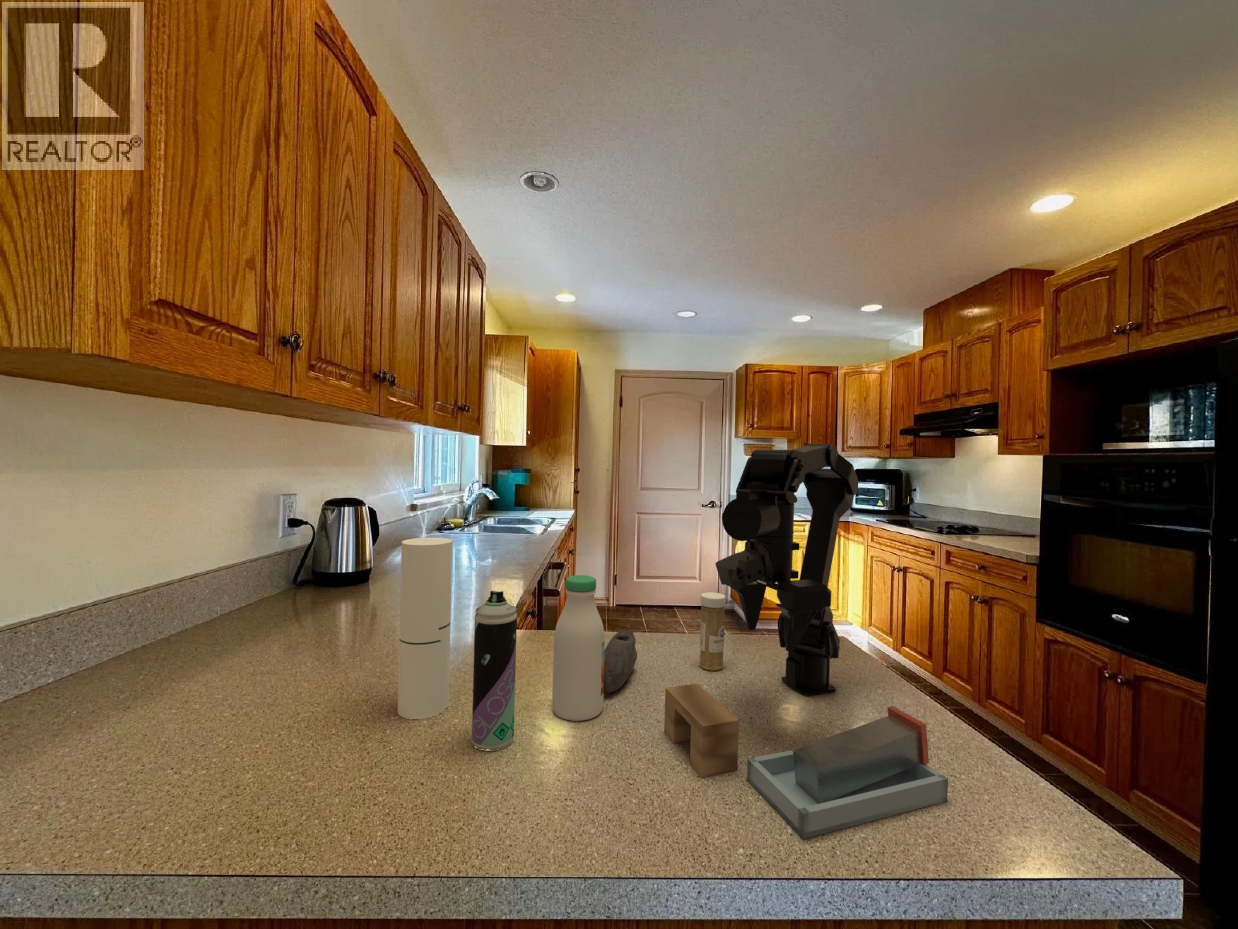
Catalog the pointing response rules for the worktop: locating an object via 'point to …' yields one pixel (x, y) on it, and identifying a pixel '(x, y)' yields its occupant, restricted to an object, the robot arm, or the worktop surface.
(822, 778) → the red capped grey bar
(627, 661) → the perforated stone tool
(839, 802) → the tray
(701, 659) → the spice jar
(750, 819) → the worktop surface
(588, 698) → the milk bottle
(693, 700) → the block
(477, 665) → the spray can
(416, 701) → the cylindrical container
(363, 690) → the worktop surface
